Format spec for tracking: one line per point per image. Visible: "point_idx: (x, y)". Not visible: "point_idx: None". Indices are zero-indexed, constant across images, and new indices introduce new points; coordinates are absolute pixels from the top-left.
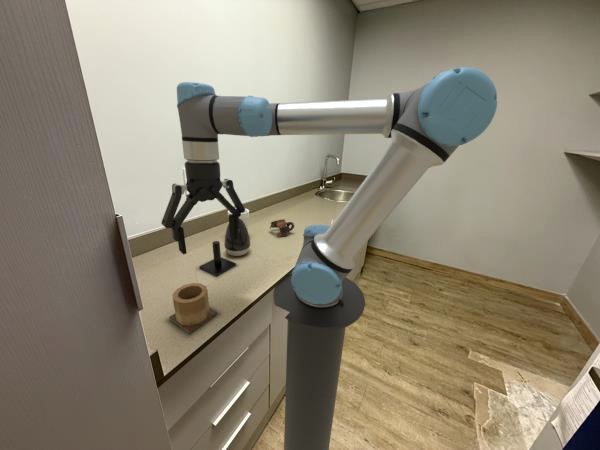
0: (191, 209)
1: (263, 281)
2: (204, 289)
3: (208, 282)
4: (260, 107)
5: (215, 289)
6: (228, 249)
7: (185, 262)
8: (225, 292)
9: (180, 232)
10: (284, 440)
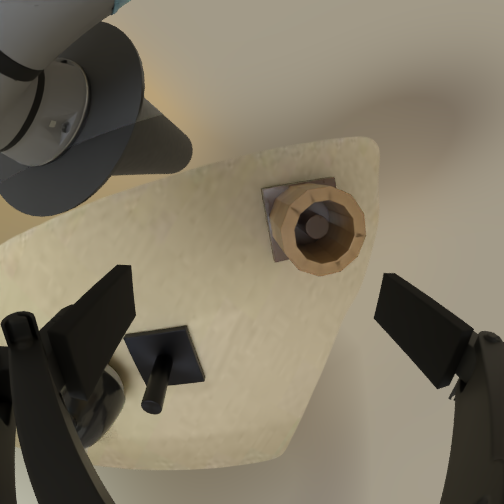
0: (490, 426)
1: (102, 225)
2: (292, 217)
3: (214, 316)
4: None
5: (214, 279)
6: (120, 387)
7: (220, 411)
8: (201, 251)
9: (460, 319)
10: (182, 162)
